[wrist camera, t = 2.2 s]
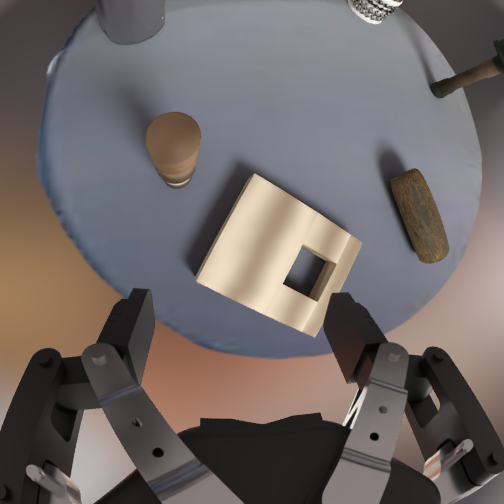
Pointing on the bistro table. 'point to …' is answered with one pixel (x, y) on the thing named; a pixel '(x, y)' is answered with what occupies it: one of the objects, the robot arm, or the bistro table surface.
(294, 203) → the board
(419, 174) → the stone weight
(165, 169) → the peg
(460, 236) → the bistro table surface
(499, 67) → the potato masher grenade
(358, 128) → the bistro table surface
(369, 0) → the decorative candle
